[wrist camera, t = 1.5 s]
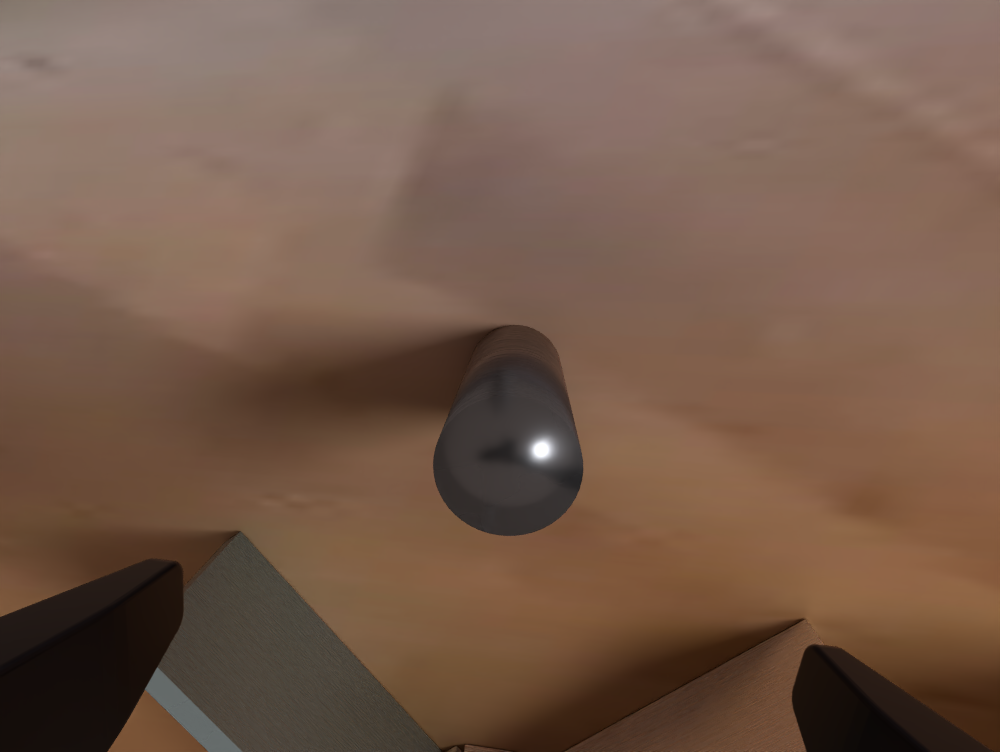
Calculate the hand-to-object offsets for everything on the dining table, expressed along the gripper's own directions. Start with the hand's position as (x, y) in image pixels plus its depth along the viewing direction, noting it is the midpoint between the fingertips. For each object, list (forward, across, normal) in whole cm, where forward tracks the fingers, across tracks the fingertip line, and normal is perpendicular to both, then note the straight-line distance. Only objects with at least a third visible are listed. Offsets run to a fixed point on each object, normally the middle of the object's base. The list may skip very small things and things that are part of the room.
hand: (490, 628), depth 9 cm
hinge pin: (+12, 0, -1) cm, 12 cm away
